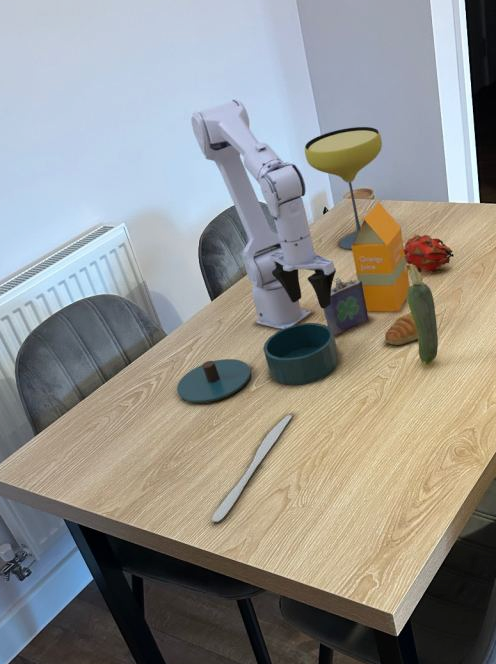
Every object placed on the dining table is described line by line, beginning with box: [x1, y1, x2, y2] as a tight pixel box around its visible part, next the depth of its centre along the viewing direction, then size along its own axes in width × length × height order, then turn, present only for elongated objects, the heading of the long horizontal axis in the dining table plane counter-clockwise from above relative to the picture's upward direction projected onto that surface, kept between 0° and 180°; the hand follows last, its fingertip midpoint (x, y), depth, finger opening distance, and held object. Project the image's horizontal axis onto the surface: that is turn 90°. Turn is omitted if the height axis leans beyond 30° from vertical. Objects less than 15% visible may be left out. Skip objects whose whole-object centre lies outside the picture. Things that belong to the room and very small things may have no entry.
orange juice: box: [351, 201, 411, 313], centre depth 154 cm, size 8×9×20 cm
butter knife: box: [211, 414, 293, 523], centre depth 122 cm, size 1×27×3 cm
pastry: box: [384, 311, 418, 346], centre depth 145 cm, size 9×7×4 cm
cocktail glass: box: [304, 126, 383, 250], centre depth 183 cm, size 18×18×25 cm
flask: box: [323, 277, 369, 337], centre depth 151 cm, size 9×3×11 cm, turn 121°
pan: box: [262, 322, 340, 386], centre depth 143 cm, size 13×13×6 cm
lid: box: [176, 358, 252, 404], centre depth 144 cm, size 14×14×4 cm
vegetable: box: [404, 263, 439, 366], centre depth 130 cm, size 4×4×20 cm
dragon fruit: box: [404, 234, 455, 274], centre depth 167 cm, size 8×8×12 cm
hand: (311, 303), depth 144 cm, fingers open, 7 cm apart
